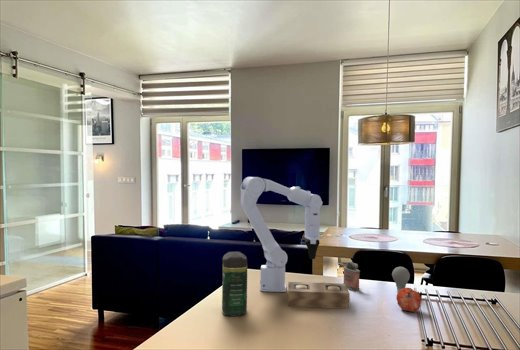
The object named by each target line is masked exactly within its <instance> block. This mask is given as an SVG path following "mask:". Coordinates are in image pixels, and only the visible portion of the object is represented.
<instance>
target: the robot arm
mask: <svg viewBox="0 0 520 350" xmlns="http://www.w3.org/2000/svg"><path fill="white" fill-rule="evenodd" d="M269 191H271V192H274V193H276V194H277V193H278V194H279V195H280V194H281V195H283V196H285V197H287V199H288V200H289V202H293V203H295V204H298V205H300V206H303V207H304V238H305V239H306V240H305V239H304V243H305V245H306V247H307V248H306V249H307V252H308V253H307V254H308V259H310V260H315V259H316V256H317V252H318V251H317V250H318V248H319V245H320V239H323V235H322V234H320V231H321V230H320V225H321V224H320V222H321V221H320V217H321V216H320V215H321V214H320V212H321V211H320V210H321V207H322V206H323V201H322V198H321V196H320V195H318V194H315V193H314V194H313V193H311V191H310V190H304V189H302V188H301V187H300V186H292V187H287V186H284V185H283V184H280V183H277V182H275V181H273V180H271V179H267V178H262V177H259V176H247V177H245V178H244V179H243V180H242V183H241V185H240V207H241V208H242V210H243V212H244V214H245V215H246V217H247V219H248V221H249V223H250V225H251V227H252V228H253V231H254V232H255V234H256V236H257V238H258V239H259V241H260V243H261V245H262V246H261V247H262V249H263V255H264V256H263V257H264V258H265V259H266V263H265V264H261V266H260V280H259V284H260V288H259V289H260V290H259V292H271V293H272V292H273V293H274V292H275V293H276V292H277V293H286V292H287V284H286V264H288V263H287V262H288V254H287V253H286V251H285V250H283V249H282V248H281V246H280V245H279V244H278V242H277V241H276V240H275V238H274V236H273V234H272V231H271V230H270V229H269V227H268V225H267V223H266V222H265V219H264V218H263V215H262V214H261V212H260V210H259V208H258V206H257V202H258V199H259V197H260V196H261V195H262V194H263V192H269Z"/></svg>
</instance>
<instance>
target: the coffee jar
mask: <svg viewBox="0 0 520 350" xmlns="http://www.w3.org/2000/svg"><path fill="white" fill-rule="evenodd" d="M221 280H222V285H221V288H222V289H221V290H222V291H221V310H222V313H223V314H224V315H226V316H231V317H238V316H241V315H245V314H247V310H248V309H247V308H248V306H247V305H248V257H247V256H246V255H245V254H244V253H242V252H241V251H228V252H226V253H225V254H224V255H223V256H222V279H221Z"/></svg>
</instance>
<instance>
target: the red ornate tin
mask: <svg viewBox="0 0 520 350" xmlns="http://www.w3.org/2000/svg"><path fill="white" fill-rule="evenodd" d="M358 268H359V264H358V263H354V262H353V261H346V262H345V265H344V266H343V283H342V284H345V285H346V287H347V289H348V290H349V291H353V292H360V290H361V288H360V274H361V273H360V272H361V270H359V269H358Z"/></svg>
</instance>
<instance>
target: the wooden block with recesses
mask: <svg viewBox="0 0 520 350" xmlns="http://www.w3.org/2000/svg"><path fill="white" fill-rule="evenodd" d="M287 283H288V285H287V286H288V288H287V306H288V307H300V308H301V307H304V308H323V309H325V308H326V309H327V308H329V309H350V294H351V293H350V290H349V289H347V287H346V285H345V284H343V283H336V282H332V283H331V282H306V281H303V282H302V281H288V282H287ZM297 285H305V286H307V289H296V286H297ZM329 286H337V287H339V288H340V290H328V287H329Z"/></svg>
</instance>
